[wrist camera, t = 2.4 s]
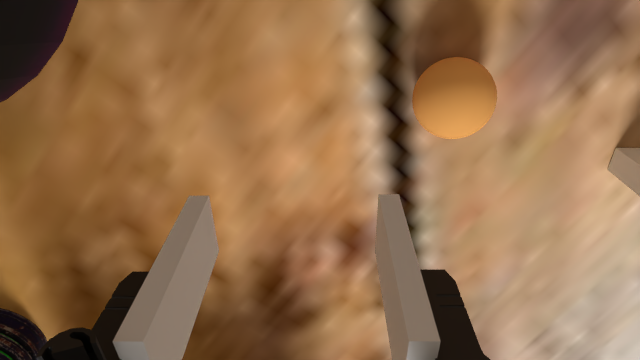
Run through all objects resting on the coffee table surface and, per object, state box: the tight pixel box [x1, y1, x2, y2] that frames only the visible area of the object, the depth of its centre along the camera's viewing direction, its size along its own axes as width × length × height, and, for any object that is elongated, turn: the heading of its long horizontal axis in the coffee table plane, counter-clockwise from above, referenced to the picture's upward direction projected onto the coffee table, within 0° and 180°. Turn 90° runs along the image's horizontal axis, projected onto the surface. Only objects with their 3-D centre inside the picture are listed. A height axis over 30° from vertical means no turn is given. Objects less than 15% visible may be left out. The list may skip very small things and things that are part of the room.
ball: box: [412, 57, 497, 139], centre depth 28 cm, size 6×6×6 cm
